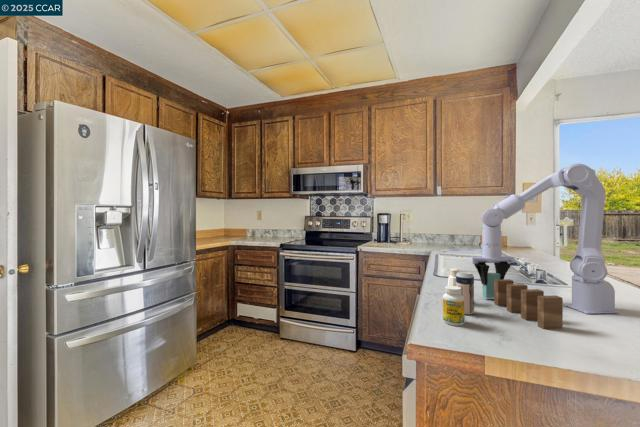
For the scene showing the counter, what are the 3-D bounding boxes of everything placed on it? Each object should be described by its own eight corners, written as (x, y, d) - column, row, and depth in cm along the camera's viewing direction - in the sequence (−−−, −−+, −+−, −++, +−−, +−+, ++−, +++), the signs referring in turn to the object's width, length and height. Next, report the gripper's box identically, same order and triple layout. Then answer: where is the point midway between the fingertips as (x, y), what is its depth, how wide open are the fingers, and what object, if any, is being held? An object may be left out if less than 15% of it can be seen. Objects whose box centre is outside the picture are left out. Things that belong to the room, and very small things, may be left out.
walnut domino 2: (506, 310, 89) (506, 284, 89) (522, 310, 89) (522, 283, 89) (511, 312, 87) (511, 286, 87) (527, 312, 87) (527, 285, 87)
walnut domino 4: (537, 326, 77) (537, 295, 77) (556, 325, 77) (555, 295, 77) (543, 329, 75) (543, 298, 75) (562, 328, 75) (562, 297, 75)
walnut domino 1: (494, 304, 95) (494, 279, 95) (509, 303, 95) (509, 279, 95) (498, 306, 93) (498, 281, 93) (513, 305, 93) (513, 280, 93)
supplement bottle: (462, 319, 82) (462, 285, 82) (466, 327, 77) (465, 290, 77) (442, 317, 84) (441, 284, 83) (443, 325, 78) (443, 289, 78)
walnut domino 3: (521, 317, 83) (520, 289, 83) (538, 317, 83) (538, 289, 83) (526, 320, 81) (526, 291, 81) (543, 319, 81) (543, 291, 81)
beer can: (476, 316, 85) (476, 274, 85) (458, 315, 86) (458, 274, 85) (471, 310, 89) (471, 271, 89) (454, 309, 90) (454, 270, 90)
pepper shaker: (461, 305, 94) (461, 271, 94) (444, 302, 97) (443, 269, 97) (465, 301, 98) (465, 268, 98) (448, 298, 101) (448, 266, 101)
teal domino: (500, 297, 99) (500, 274, 99) (486, 298, 99) (486, 274, 99) (496, 295, 101) (496, 272, 101) (482, 296, 101) (482, 273, 101)
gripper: (504, 242, 104) (504, 280, 104) (464, 243, 104) (464, 281, 104) (518, 245, 97) (519, 285, 97) (476, 245, 97) (476, 286, 97)
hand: (492, 284), depth 100 cm, fingers closed on teal domino, 5 cm apart
